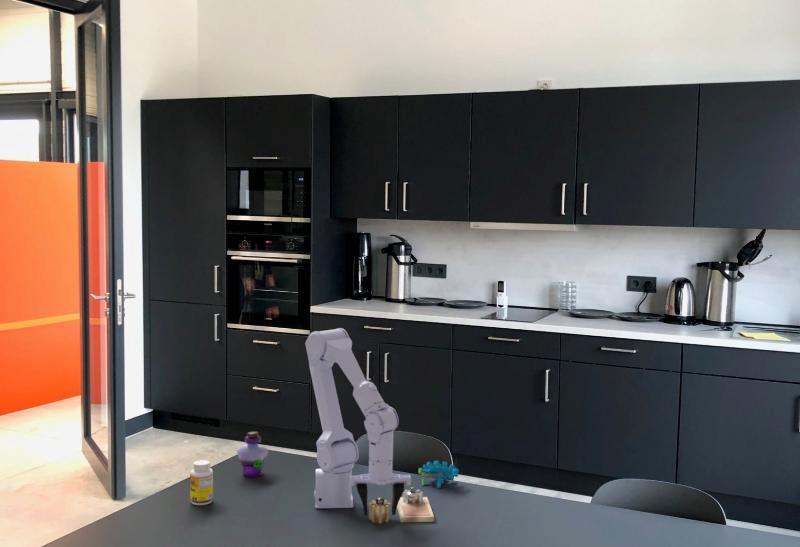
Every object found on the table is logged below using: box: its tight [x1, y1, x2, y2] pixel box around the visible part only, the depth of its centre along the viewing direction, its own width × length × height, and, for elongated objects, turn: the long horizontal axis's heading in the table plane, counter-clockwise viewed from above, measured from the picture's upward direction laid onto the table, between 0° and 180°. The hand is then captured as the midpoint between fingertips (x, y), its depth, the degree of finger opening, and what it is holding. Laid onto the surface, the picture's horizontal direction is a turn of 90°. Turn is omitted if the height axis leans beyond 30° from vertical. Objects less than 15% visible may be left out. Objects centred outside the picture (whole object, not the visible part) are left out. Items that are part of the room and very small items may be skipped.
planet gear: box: [368, 496, 391, 524], centre depth 190 cm, size 5×5×5 cm
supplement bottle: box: [189, 459, 214, 506], centre depth 198 cm, size 6×6×10 cm
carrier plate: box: [396, 496, 435, 523], centre depth 195 cm, size 8×13×1 cm, turn 6°
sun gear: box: [402, 486, 424, 505], centre depth 199 cm, size 5×5×3 cm
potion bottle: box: [236, 431, 269, 479], centre depth 219 cm, size 9×9×12 cm
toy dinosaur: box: [418, 460, 459, 489], centre depth 214 cm, size 11×6×10 cm
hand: (379, 513), depth 190 cm, fingers open, 6 cm apart
